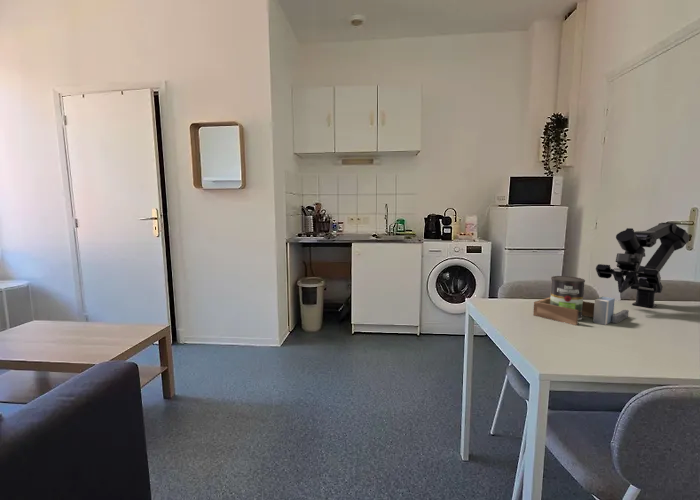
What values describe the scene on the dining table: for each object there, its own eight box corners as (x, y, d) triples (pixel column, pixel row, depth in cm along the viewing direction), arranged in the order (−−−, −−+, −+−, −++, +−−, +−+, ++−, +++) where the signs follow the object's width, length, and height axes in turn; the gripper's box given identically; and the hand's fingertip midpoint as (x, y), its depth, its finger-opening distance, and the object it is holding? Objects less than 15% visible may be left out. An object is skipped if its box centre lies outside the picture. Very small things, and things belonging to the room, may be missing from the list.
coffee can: (583, 322, 122) (586, 282, 120) (549, 318, 126) (551, 279, 125) (580, 314, 131) (583, 277, 129) (548, 311, 135) (550, 274, 134)
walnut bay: (553, 308, 139) (553, 295, 139) (594, 316, 128) (595, 303, 127) (533, 315, 130) (534, 302, 130) (575, 325, 119) (576, 310, 118)
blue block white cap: (601, 318, 126) (602, 296, 125) (612, 321, 123) (614, 298, 122) (593, 322, 122) (594, 299, 121) (605, 325, 119) (607, 301, 118)
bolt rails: (606, 312, 133) (606, 306, 132) (628, 317, 127) (628, 310, 127) (593, 318, 126) (593, 311, 125) (615, 323, 120) (616, 316, 120)
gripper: (598, 243, 138) (585, 275, 133) (660, 246, 123) (648, 282, 118) (605, 261, 143) (592, 292, 138) (665, 266, 129) (654, 301, 123)
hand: (620, 291), depth 129 cm, fingers closed
